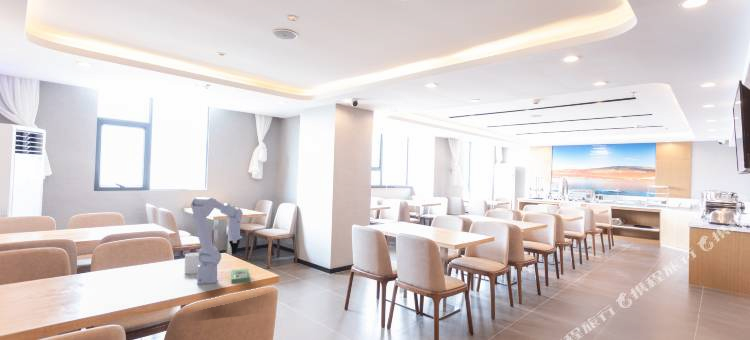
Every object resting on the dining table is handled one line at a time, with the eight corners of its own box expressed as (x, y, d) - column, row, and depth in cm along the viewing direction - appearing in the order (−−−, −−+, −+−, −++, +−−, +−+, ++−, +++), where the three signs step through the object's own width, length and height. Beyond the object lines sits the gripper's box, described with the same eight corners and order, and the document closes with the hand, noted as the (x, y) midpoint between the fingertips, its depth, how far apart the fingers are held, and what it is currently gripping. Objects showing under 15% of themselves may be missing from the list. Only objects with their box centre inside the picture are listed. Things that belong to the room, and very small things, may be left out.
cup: (187, 275, 202) (187, 256, 202) (181, 270, 211) (181, 252, 211) (203, 272, 208) (203, 254, 208) (196, 268, 217) (196, 250, 217)
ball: (246, 273, 196) (245, 273, 199) (239, 273, 194) (238, 272, 197) (245, 280, 195) (244, 279, 198) (238, 280, 193) (237, 279, 196)
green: (231, 283, 190) (231, 279, 190) (231, 273, 207) (231, 269, 207) (249, 281, 194) (249, 277, 194) (248, 272, 211) (248, 268, 211)
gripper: (242, 231, 206) (242, 255, 206) (241, 226, 219) (241, 250, 219) (228, 231, 203) (228, 256, 203) (228, 227, 217) (228, 250, 217)
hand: (234, 253), depth 211 cm, fingers closed
